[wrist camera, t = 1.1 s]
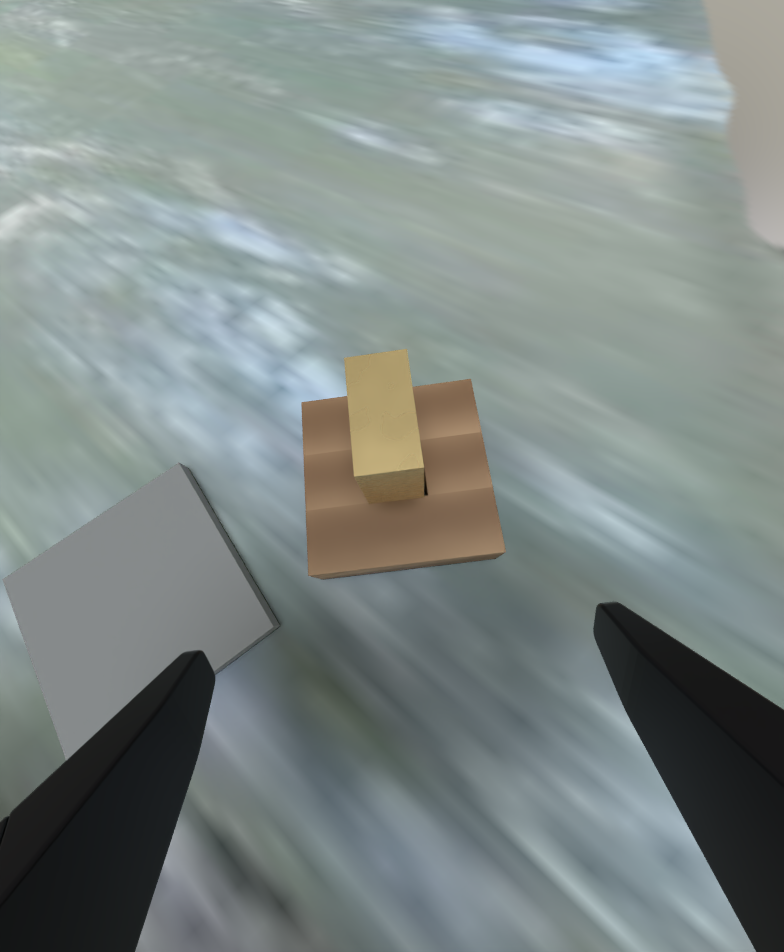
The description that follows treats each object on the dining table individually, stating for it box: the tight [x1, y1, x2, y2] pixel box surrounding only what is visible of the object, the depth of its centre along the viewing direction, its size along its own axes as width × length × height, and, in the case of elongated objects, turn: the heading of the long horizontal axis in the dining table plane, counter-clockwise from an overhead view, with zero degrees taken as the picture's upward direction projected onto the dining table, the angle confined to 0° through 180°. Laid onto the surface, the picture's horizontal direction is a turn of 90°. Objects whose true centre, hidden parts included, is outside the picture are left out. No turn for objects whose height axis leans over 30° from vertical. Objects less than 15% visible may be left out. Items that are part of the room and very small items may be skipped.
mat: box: [3, 463, 280, 760], centre depth 23 cm, size 12×12×1 cm
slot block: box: [302, 379, 506, 579], centre depth 23 cm, size 10×10×3 cm
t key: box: [344, 349, 424, 504], centre depth 19 cm, size 5×2×10 cm, turn 6°
